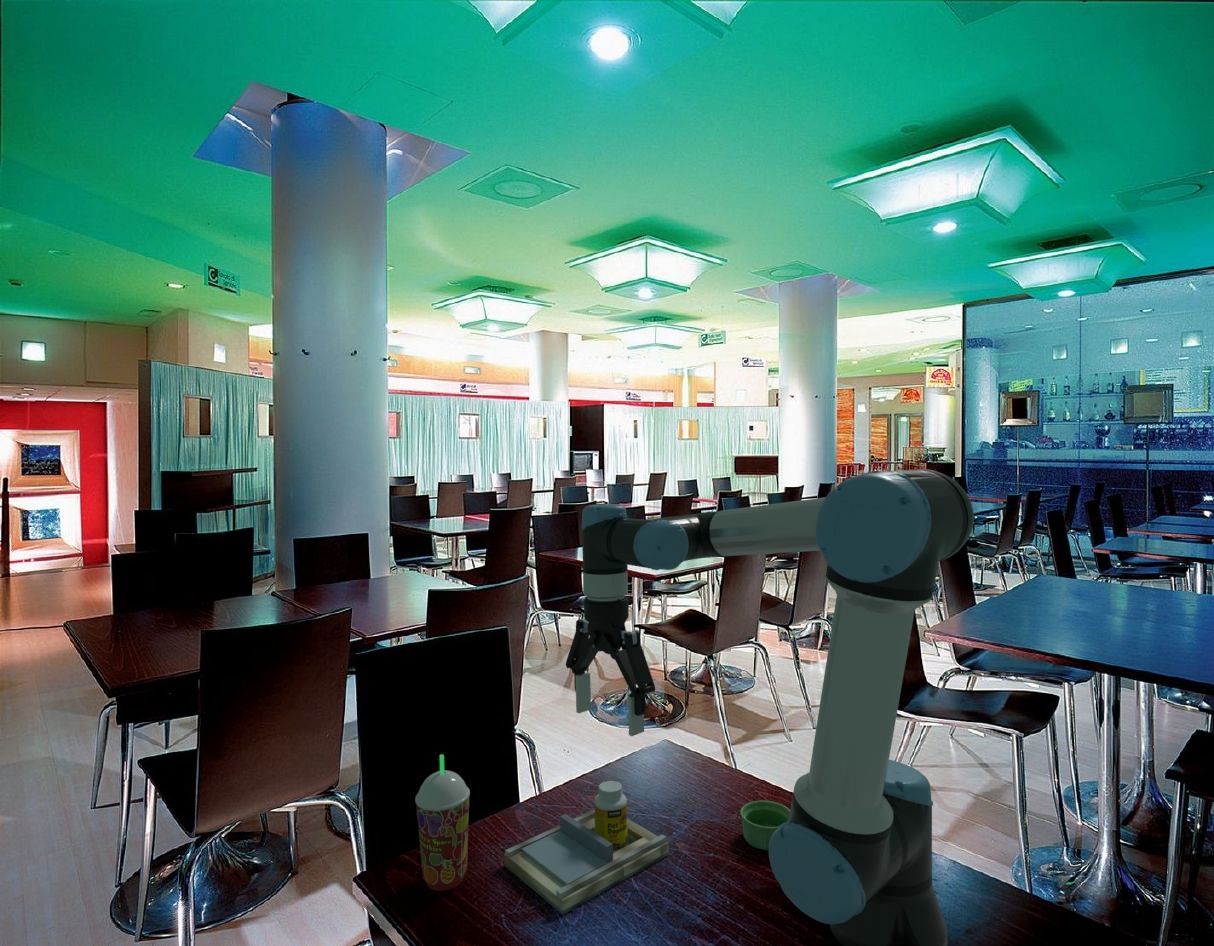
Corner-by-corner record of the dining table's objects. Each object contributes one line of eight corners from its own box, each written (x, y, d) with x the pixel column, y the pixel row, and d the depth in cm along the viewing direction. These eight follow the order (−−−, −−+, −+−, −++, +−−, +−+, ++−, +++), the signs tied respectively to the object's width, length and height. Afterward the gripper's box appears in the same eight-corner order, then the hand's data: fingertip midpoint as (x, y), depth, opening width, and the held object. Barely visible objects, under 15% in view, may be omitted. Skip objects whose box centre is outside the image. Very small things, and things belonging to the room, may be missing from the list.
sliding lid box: (606, 816, 126) (606, 801, 126) (669, 854, 114) (668, 837, 114) (504, 865, 112) (503, 848, 112) (563, 914, 99) (562, 895, 99)
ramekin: (788, 858, 112) (788, 832, 112) (734, 846, 116) (734, 820, 116) (798, 830, 120) (798, 806, 120) (747, 820, 124) (747, 796, 124)
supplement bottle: (606, 859, 112) (605, 797, 112) (588, 843, 117) (587, 784, 116) (634, 847, 115) (633, 787, 115) (616, 832, 120) (614, 775, 119)
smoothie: (406, 890, 106) (402, 762, 105) (438, 860, 113) (435, 741, 113) (452, 902, 103) (448, 770, 102) (482, 870, 110) (478, 748, 110)
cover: (565, 831, 117) (565, 813, 117) (613, 863, 108) (612, 843, 108) (521, 851, 112) (521, 833, 112) (567, 887, 102) (567, 867, 102)
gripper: (675, 603, 108) (678, 737, 108) (577, 583, 127) (580, 697, 127) (640, 611, 103) (644, 751, 103) (544, 589, 122) (547, 707, 122)
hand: (608, 721), depth 115 cm, fingers open, 13 cm apart
